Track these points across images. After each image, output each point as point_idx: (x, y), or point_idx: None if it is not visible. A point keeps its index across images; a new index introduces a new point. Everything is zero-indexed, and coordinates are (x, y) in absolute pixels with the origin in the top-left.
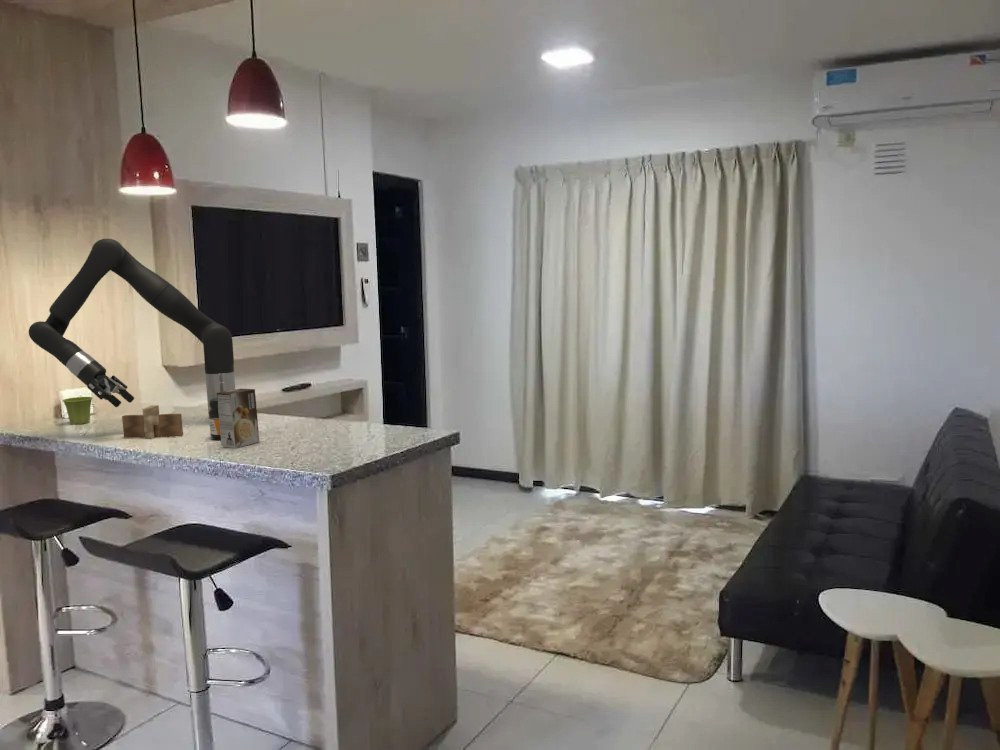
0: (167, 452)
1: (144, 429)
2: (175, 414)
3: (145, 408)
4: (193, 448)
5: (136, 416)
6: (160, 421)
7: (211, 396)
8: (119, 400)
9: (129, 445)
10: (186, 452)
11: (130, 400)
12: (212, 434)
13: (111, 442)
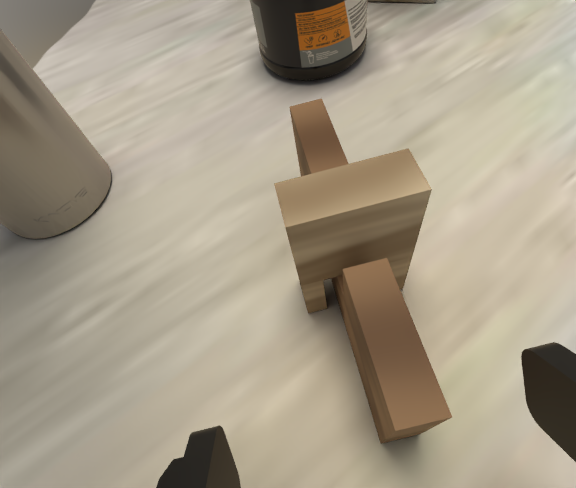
0: (568, 60)
1: (408, 264)
2: (320, 111)
3: (414, 176)
4: (483, 38)
5: (401, 299)
6: None
7: (16, 95)
8: (551, 359)
9: (552, 258)
10: (537, 24)
11: (231, 471)
12: (361, 43)
13: None
